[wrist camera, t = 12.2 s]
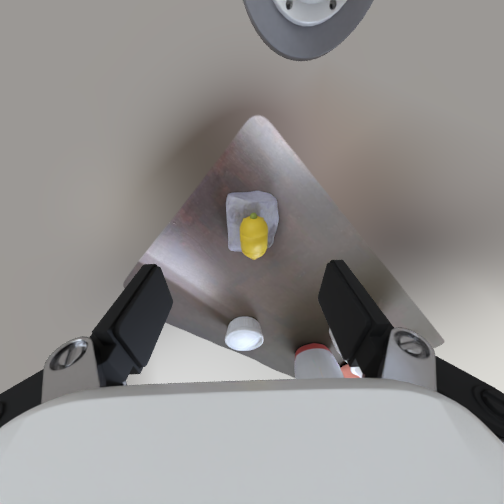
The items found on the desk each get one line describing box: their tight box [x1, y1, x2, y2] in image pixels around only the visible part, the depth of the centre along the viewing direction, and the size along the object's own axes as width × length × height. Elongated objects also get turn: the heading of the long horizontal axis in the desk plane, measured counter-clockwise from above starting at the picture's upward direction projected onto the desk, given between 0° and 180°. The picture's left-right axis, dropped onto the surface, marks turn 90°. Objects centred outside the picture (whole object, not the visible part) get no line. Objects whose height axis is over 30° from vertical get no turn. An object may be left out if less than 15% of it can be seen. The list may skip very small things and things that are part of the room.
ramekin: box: [225, 316, 264, 351], centre depth 54 cm, size 11×11×5 cm
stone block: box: [226, 190, 279, 251], centre depth 35 cm, size 12×5×10 cm
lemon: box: [240, 213, 268, 260], centre depth 31 cm, size 10×5×5 cm, turn 1°
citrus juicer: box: [295, 343, 344, 379], centre depth 58 cm, size 16×17×20 cm
